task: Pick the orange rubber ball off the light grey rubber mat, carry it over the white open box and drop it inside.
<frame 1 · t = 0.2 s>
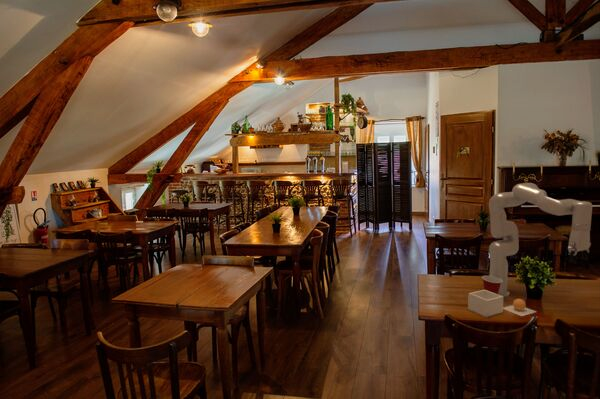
hand: (578, 261, 209), 31 cm above the table, tool pointing down, fingers open, 9 cm apart
plastic cup: (491, 298, 245), on the table
ball: (518, 309, 227), resting on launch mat
white open box: (485, 311, 227), on the table
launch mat: (518, 310, 227), on the table
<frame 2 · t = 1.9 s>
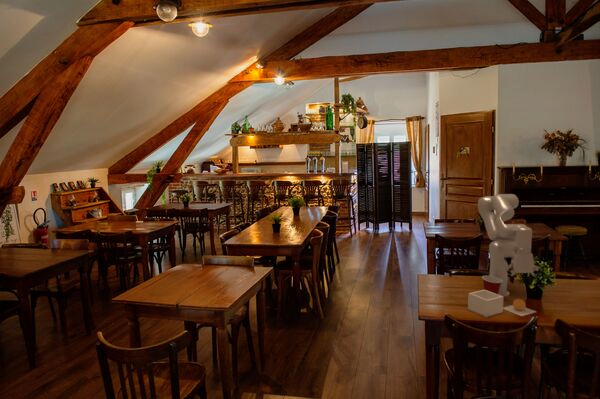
hand: (521, 282, 224), 16 cm above the table, tool pointing down, fingers open, 9 cm apart
nothing on the table moved.
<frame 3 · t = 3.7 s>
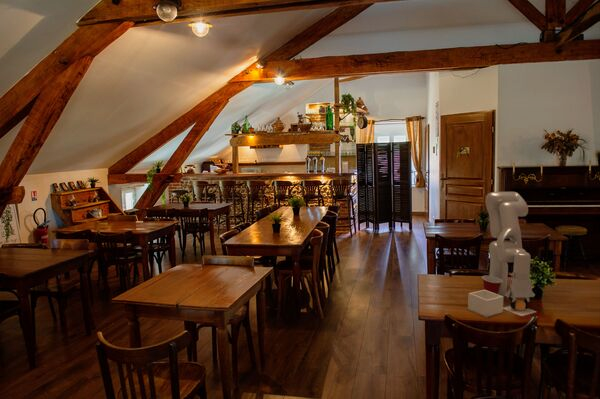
hand: (519, 308, 227), 2 cm above the table, tool pointing down, fingers closed on ball, 5 cm apart
ball: (518, 309, 227), resting on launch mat, touching gripper
everything else where it was.
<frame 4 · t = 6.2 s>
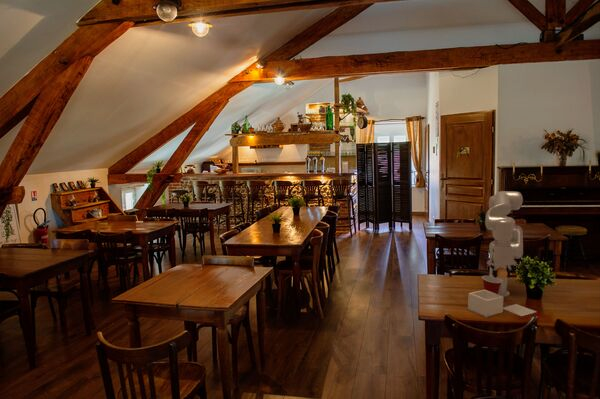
hand: (500, 276, 224), 19 cm above the table, tool pointing down, fingers closed on ball, 5 cm apart
ball: (500, 278, 224), point 18 cm above the table, touching gripper
everything else where it was.
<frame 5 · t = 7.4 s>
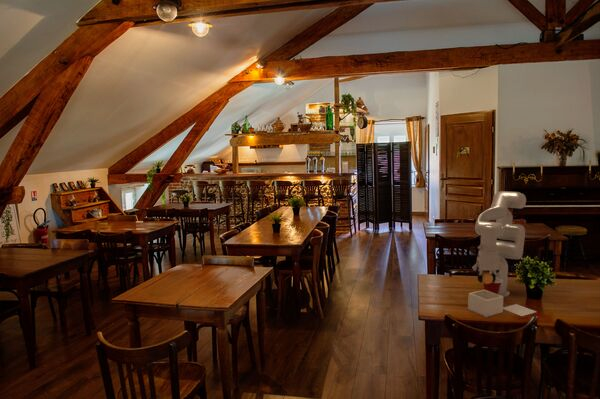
hand: (486, 281, 224), 16 cm above the table, tool pointing down, fingers closed on ball, 5 cm apart
ball: (486, 283, 225), point 15 cm above the table, touching gripper
everything else where it was.
when the fingers open (12 cm above the table, at t = 8.6 s): ball drops 10 cm, resting on white open box.
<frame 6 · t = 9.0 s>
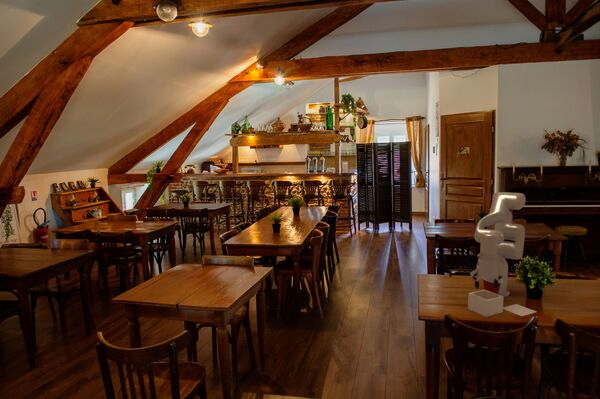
hand: (486, 287, 225), 13 cm above the table, tool pointing down, fingers open, 9 cm apart
ball: (485, 310, 227), resting on white open box
everything else where it was.
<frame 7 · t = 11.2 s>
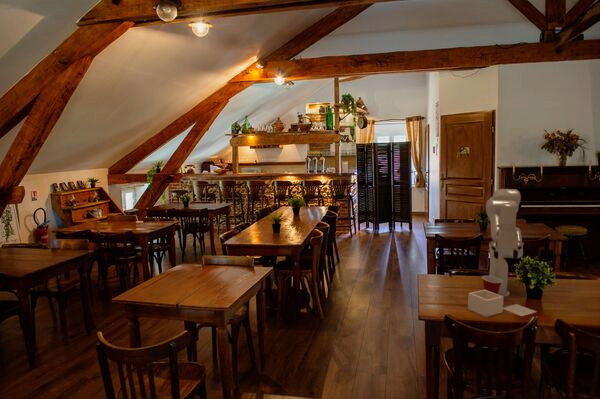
hand: (505, 258, 226), 28 cm above the table, tool pointing down, fingers open, 9 cm apart
nothing on the table moved.
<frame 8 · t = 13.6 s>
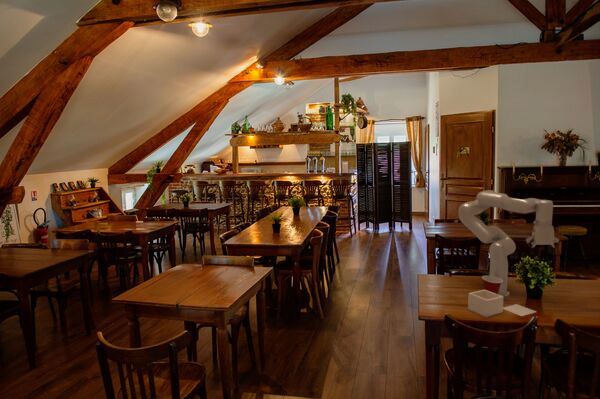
hand: (541, 254, 231), 28 cm above the table, tool pointing down, fingers open, 9 cm apart
nothing on the table moved.
at the end: ball 0.0 cm off-centre on the white open box, point 0.5 cm above the white open box's base; the gripper is holding nothing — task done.
